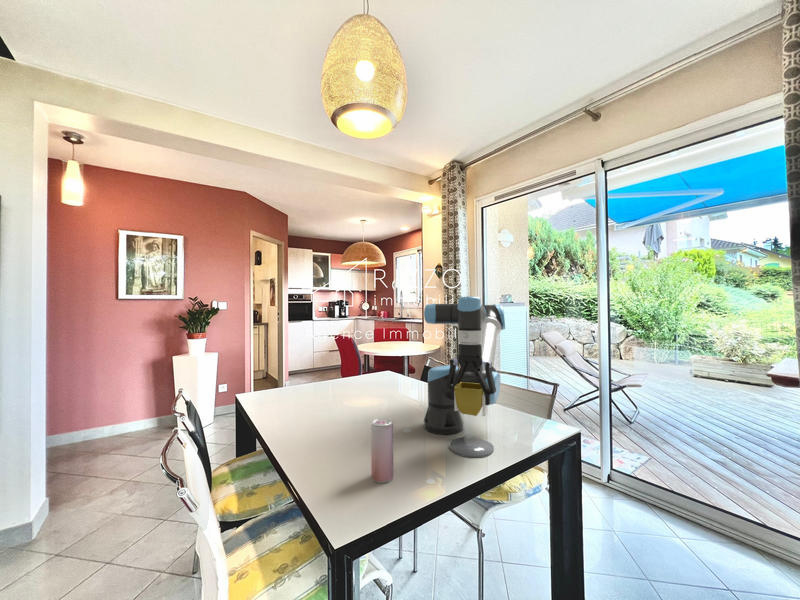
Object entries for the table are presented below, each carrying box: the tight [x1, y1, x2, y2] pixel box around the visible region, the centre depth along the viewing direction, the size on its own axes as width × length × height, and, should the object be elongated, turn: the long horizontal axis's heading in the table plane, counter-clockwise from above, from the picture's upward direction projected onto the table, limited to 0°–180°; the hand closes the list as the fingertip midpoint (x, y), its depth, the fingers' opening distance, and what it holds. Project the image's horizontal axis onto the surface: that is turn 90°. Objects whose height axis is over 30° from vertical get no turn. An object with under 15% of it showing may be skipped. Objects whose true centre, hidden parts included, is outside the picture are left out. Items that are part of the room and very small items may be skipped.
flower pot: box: [454, 382, 484, 417], centre depth 106 cm, size 9×9×9 cm
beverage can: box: [370, 417, 395, 484], centre depth 87 cm, size 6×6×15 cm
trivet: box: [449, 436, 495, 459], centre depth 105 cm, size 14×14×1 cm
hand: (470, 412), depth 106 cm, fingers closed on flower pot, 9 cm apart
